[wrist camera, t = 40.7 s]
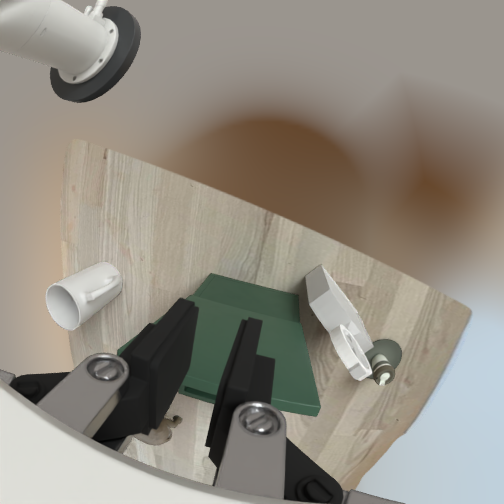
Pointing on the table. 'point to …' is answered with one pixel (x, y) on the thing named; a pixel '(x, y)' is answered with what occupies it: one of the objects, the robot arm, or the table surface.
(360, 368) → the gravestone
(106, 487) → the robot arm
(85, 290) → the mug
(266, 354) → the bin lid
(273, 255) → the table surface
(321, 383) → the table surface
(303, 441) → the table surface
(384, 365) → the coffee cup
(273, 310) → the bin
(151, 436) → the rhinoceros figurine
